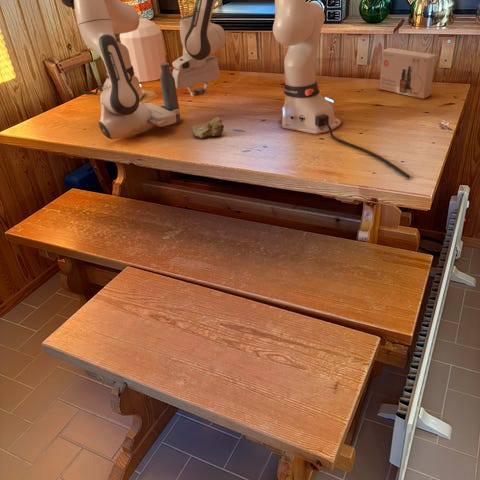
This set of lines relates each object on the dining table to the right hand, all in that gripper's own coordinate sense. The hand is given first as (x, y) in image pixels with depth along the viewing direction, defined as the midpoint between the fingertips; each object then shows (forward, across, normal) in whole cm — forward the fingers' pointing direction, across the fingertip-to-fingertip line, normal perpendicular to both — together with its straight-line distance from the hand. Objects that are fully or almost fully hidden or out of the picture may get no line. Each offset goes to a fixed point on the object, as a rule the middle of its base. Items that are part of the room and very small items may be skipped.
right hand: (199, 94), depth 190 cm
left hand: (+1, +14, +5) cm, 15 cm away
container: (+7, -6, -67) cm, 67 cm away
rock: (+6, +12, +27) cm, 30 cm away
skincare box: (+5, -69, +47) cm, 84 cm away
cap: (-2, 0, 0) cm, 2 cm away
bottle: (+6, +15, +5) cm, 17 cm away
